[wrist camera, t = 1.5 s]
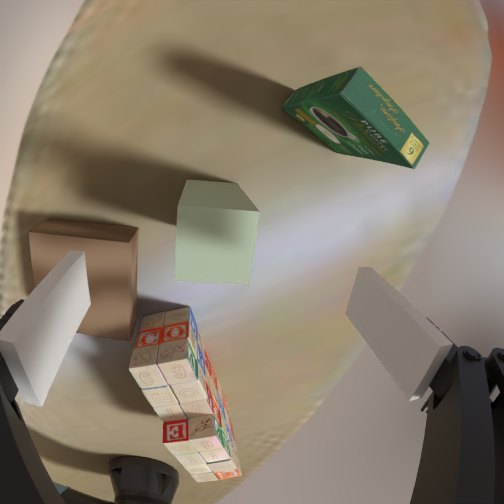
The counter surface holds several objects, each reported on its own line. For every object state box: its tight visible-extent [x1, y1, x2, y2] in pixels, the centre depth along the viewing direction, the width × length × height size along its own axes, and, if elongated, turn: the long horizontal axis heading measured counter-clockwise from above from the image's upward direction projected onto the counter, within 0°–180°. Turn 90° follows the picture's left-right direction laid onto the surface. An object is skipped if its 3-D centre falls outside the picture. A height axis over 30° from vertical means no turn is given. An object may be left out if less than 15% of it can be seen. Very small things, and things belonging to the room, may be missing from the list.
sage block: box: [175, 180, 260, 285], centre depth 24 cm, size 5×5×12 cm
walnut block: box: [29, 219, 139, 341], centre depth 28 cm, size 11×11×5 cm
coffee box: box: [282, 67, 429, 169], centre depth 22 cm, size 8×3×13 cm, turn 55°
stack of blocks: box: [129, 307, 242, 482], centre depth 32 cm, size 21×6×12 cm, turn 11°
